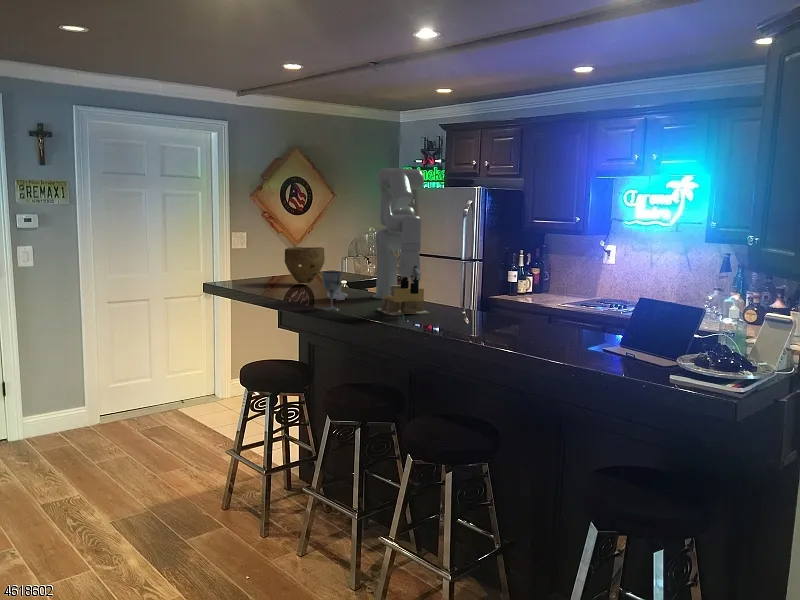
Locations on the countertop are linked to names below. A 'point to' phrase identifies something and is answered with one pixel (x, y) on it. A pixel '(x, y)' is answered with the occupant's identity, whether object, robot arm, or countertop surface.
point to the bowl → (304, 262)
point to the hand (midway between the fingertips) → (409, 292)
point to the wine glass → (331, 285)
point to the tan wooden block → (406, 295)
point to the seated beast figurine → (338, 295)
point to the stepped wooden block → (401, 305)
